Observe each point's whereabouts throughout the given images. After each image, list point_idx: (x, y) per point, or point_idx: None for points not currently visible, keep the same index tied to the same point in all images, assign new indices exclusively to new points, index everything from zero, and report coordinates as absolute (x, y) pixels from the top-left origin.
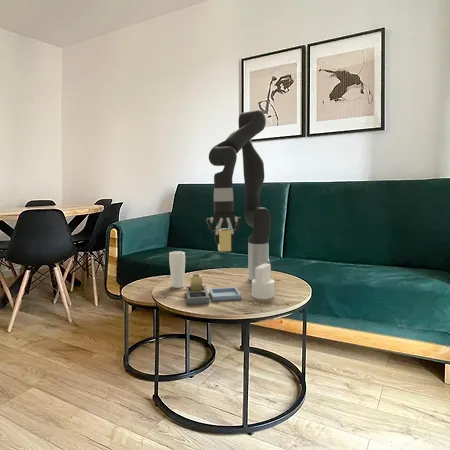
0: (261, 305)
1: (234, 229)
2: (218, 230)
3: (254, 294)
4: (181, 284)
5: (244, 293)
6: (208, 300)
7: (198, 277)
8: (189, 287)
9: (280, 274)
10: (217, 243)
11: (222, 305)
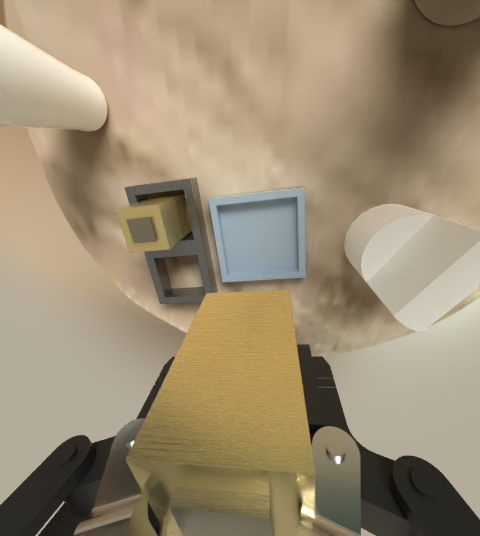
0: (347, 317)
1: (394, 524)
2: (156, 525)
3: (350, 262)
4: (97, 123)
5: (327, 212)
6: None
7: (158, 249)
8: (139, 194)
9: None
10: None
11: None
